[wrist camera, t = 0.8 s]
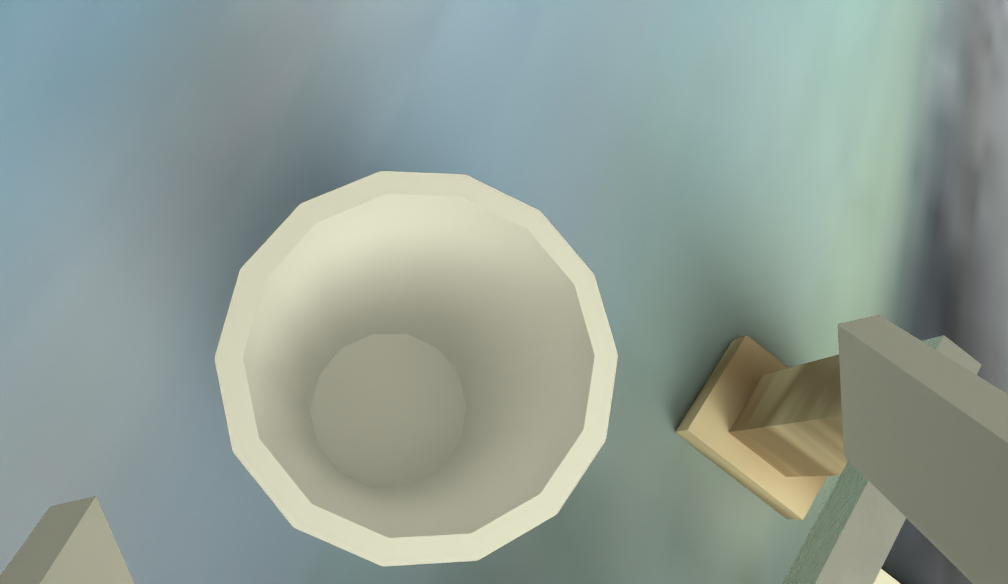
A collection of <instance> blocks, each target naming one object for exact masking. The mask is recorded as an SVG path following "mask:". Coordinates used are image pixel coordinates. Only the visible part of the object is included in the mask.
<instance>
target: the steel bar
mask: <svg viewBox="0 0 1008 584" xmlns="http://www.w3.org/2000/svg"><path fill="white" fill-rule="evenodd" d="M922 342H924V343H925V344H927V345H928V346H930V347H932V348H933V349H935V350H936V351H938V352H940V353H941V354H943V355H945V356H946V357H948V358H949V359H951V360H953V361H954V362H956V363H958V364H959V365H961V366H962V367H964V368H966V369H967V370H969V371H970V372H972V373H974V374H975V375H977V373H978V371H979V369H980V367H981V364H980V363H979V362H977V361H976V360H975V359H973V358H972V357H971V356H970V355H968V354H967V353H966V352H965V351H963V350H962V349H961V348H959V347H958V346H957V345H956V344H954V343H953V342H952V341H951V340H949V339H948V338H947V337H946V336H940V337H936V338H932V339H928V340H924V341H922ZM905 519H906V517H905V516H904V515H903V514H902V513H901V512H900V511H899V510H898V509H897V508H896V507H895V506H894V505H893V504H892V503H891V502H890V501H889V500H888V499H887V498H886V497H885V496H884V495H883V494H882V493H881V492H880V491H879V490H878V489H876V488H875V487H874V486H873V485H872V484H871V483H870V482H869V481H868V480H867V479H866V478H865V477H864V476H863V475H862V474H861V473H860V472H859V471H858V470H857V469H856V468H855V467H854V466H853V465H852V464H851V463H850V462H849V461H848V462H847V464H846V466H845V468H844V469H843V471H842V473H841V475H840V477H839V479H838V481H837V482H836V484H835V486H834V488H833V490H832V492H831V494H830V496H829V497H828V499H827V501H826V503H825V505H824V507H823V509H822V510H821V512H820V514H819V516H818V518H817V520H816V522H815V524H814V525H813V527H812V529H811V531H810V533H809V535H808V537H807V538H806V540H805V542H804V544H803V546H802V548H801V550H800V552H799V553H798V555H797V557H796V559H795V561H794V563H793V565H792V566H791V568H790V570H789V572H788V574H787V576H786V578H785V580H784V581H783V583H782V584H874V582H875V580H876V578H877V576H878V574H879V572H880V570H881V568H882V566H883V564H884V562H885V559H886V557H887V555H888V553H889V551H890V549H891V547H892V545H893V543H894V541H895V539H896V537H897V535H898V533H899V531H900V529H901V527H902V525H903V523H904V521H905Z"/></svg>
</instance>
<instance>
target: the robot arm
mask: <svg viewBox="0 0 1008 584" xmlns="http://www.w3.org/2000/svg"><path fill="white" fill-rule="evenodd" d="M838 342H839V363H840V384H841V405H842V427H843V448H844V457H845V458H846V459H847V460H848V461H849V462H850V463H851V464H852V465H853V466H854V467H855V468H856V469H857V470H858V471H859V472H860V473H861V474H862V475H863V476H864V477H865V478H866V479H867V480H868V481H869V482H870V483H871V484H872V485H873V486H874V487H875V488H876V489H878V490H879V491H880V492H881V493H882V494H883V495H884V496H885V497H886V498H887V499H888V500H889V501H890V502H891V503H892V504H893V505H894V506H895V507H896V508H897V509H898V510H899V511H900V512H901V513H902V514H903V515H904V516H905V517H906V518H907V519H908V520H909V521H910V522H911V523H912V524H913V525H914V526H915V527H916V528H917V529H918V530H919V531H920V532H921V533H922V534H923V535H924V536H925V537H926V538H927V539H928V540H929V541H930V542H931V543H932V544H933V545H934V546H935V547H936V548H937V549H938V550H939V551H940V552H941V553H942V554H944V555H945V556H946V557H947V558H948V559H949V560H950V561H951V562H952V563H953V564H954V565H955V566H956V567H957V568H958V569H959V570H960V571H961V572H962V573H963V574H964V575H965V576H966V577H967V578H968V579H969V580H970V581H971V582H972V583H973V584H1008V394H1006V393H1004V392H1003V391H1001V390H1000V389H998V388H996V387H995V386H993V385H992V384H990V383H988V382H987V381H985V380H983V379H982V378H980V377H979V376H977V375H975V374H974V373H972V372H970V371H969V370H967V369H966V368H964V367H962V366H961V365H959V364H958V363H956V362H954V361H953V360H951V359H949V358H948V357H946V356H945V355H943V354H941V353H940V352H938V351H936V350H935V349H933V348H932V347H930V346H928V345H927V344H925V343H924V342H922V341H920V340H919V339H917V338H915V337H914V336H912V335H911V334H909V333H907V332H906V331H904V330H902V329H901V328H899V327H898V326H896V325H894V324H893V323H891V322H890V321H888V320H886V319H885V318H883V317H881V316H880V315H876V316H871V317H867V318H863V319H859V320H854V321H850V322H846V323H841V324H838ZM0 584H134V582H133V579H132V577H131V575H130V573H129V570H128V568H127V566H126V563H125V561H124V559H123V557H122V554H121V552H120V550H119V548H118V545H117V543H116V541H115V538H114V536H113V534H112V532H111V529H110V527H109V525H108V522H107V520H106V518H105V516H104V513H103V511H102V509H101V507H100V504H99V502H98V500H97V497H96V496H94V497H90V498H86V499H81V500H77V501H73V502H68V503H64V504H60V505H55V506H51V507H50V508H49V509H48V511H47V512H46V513H45V515H44V516H43V517H42V519H41V520H40V522H39V523H38V524H37V526H36V527H35V529H34V530H33V531H32V533H31V534H30V536H29V537H28V538H27V540H26V541H25V543H24V544H23V545H22V547H21V548H20V550H19V551H18V552H17V554H16V555H15V556H14V558H13V559H12V561H11V562H10V563H9V565H8V566H7V568H6V569H5V570H4V572H3V573H2V575H1V576H0Z"/></svg>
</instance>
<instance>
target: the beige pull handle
mask: <svg viewBox="0 0 1008 584" xmlns="http://www.w3.org/2000/svg"><path fill="white" fill-rule="evenodd" d="M675 432H676V433H677V434H678V435H680V436H681V437H682V438H684V439H685V440H686V441H687V442H689V443H690V444H691V445H693V446H694V447H695V448H696V449H698V450H699V451H700V452H702V453H703V454H704V455H705V456H707V457H708V458H709V459H711V460H712V461H713V462H715V463H716V464H717V465H718V466H720V467H721V468H722V469H724V470H725V471H726V472H727V473H729V474H730V475H731V476H733V477H734V478H735V479H736V480H738V481H739V482H740V483H742V484H743V485H744V486H745V487H747V488H748V489H749V490H751V491H752V492H753V493H754V494H756V495H757V496H758V497H760V498H761V499H762V500H763V501H765V502H766V503H767V504H769V505H770V506H771V507H772V508H774V509H775V510H776V511H778V512H779V513H780V514H781V515H783V516H784V517H785V518H787V519H798V520H803V519H804V517H805V515H806V514H807V512H808V510H809V508H810V506H811V504H812V503H813V501H814V499H815V497H816V495H817V493H818V491H819V490H820V488H821V486H822V484H823V482H824V480H825V479H826V477H827V476H835V475H841V473H842V471H843V469H844V468H845V466H846V464H847V462H848V460H847V459H846V458H845V457H844V448H843V427H842V405H841V384H840V363H839V355H835V356H832V357H828V358H824V359H820V360H817V361H813V362H809V363H806V364H802V365H798V366H794V367H791V368H788V367H787V366H786V365H784V364H783V363H782V362H781V361H779V360H778V359H777V358H776V357H774V356H773V355H772V354H770V353H769V352H768V351H767V350H765V349H764V348H763V347H761V346H760V345H759V344H758V343H756V342H755V341H754V340H752V339H751V338H750V337H749V336H747V335H745V336H742V337H740V338H737V339H734V340H733V341H732V342H731V344H730V345H729V347H728V349H727V350H726V352H725V353H724V355H723V357H722V358H721V360H720V361H719V363H718V365H717V366H716V368H715V369H714V371H713V372H712V374H711V376H710V377H709V379H708V380H707V382H706V384H705V385H704V387H703V388H702V390H701V392H700V393H699V395H698V396H697V398H696V400H695V401H694V403H693V404H692V406H691V407H690V409H689V411H688V412H687V414H686V415H685V417H684V419H683V420H682V422H681V423H680V425H679V427H678V428H677V430H676V431H675Z"/></svg>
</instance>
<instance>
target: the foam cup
mask: <svg viewBox="0 0 1008 584" xmlns="http://www.w3.org/2000/svg"><path fill="white" fill-rule="evenodd" d="M214 359H215V364H216V369H217V374H218V379H219V384H220V389H221V395H222V400H223V405H224V410H225V415H226V420H227V425H228V430H229V435H230V440H231V445H232V450H233V453H234V454H235V455H236V456H237V458H238V459H239V460H240V461H241V463H242V464H243V465H244V466H245V468H246V469H247V470H248V471H249V473H250V474H251V475H252V476H253V478H254V479H255V480H256V481H257V483H258V484H259V485H260V486H261V487H262V489H263V490H264V491H265V492H266V494H267V495H268V496H269V497H270V499H271V500H272V501H273V502H274V504H275V505H276V506H277V507H278V509H279V510H280V511H281V512H282V514H283V515H284V516H285V517H286V519H287V520H288V521H289V522H290V524H291V525H292V526H293V527H294V528H296V529H298V530H300V531H303V532H305V533H307V534H310V535H312V536H314V537H316V538H319V539H321V540H323V541H326V542H328V543H330V544H332V545H335V546H337V547H339V548H342V549H344V550H346V551H348V552H351V553H353V554H355V555H357V556H360V557H362V558H364V559H367V560H369V561H371V562H373V563H376V564H378V565H380V566H399V565H415V564H431V563H447V562H463V561H478V560H480V559H481V558H483V557H485V556H486V555H488V554H490V553H492V552H493V551H495V550H497V549H498V548H500V547H502V546H503V545H505V544H507V543H509V542H510V541H512V540H514V539H515V538H517V537H519V536H521V535H522V534H524V533H526V532H527V531H529V530H531V529H532V528H534V527H536V526H538V525H539V524H541V523H543V522H544V521H546V520H548V519H550V518H551V517H553V516H555V515H556V514H557V513H558V512H559V510H560V509H561V507H562V506H563V504H564V503H565V501H566V500H567V498H568V497H569V495H570V494H571V492H572V491H573V489H574V488H575V486H576V485H577V483H578V482H579V480H580V479H581V477H582V476H583V474H584V473H585V471H586V470H587V468H588V467H589V465H590V464H591V462H592V461H593V459H594V458H595V456H596V454H597V453H598V451H599V450H600V448H601V447H602V445H603V444H604V442H605V441H606V436H607V429H608V422H609V415H610V408H611V401H612V394H613V387H614V380H615V373H616V366H617V359H618V353H617V350H616V347H615V343H614V340H613V336H612V333H611V330H610V326H609V323H608V319H607V316H606V313H605V309H604V306H603V302H602V299H601V296H600V292H599V289H598V285H597V282H596V279H595V275H594V274H593V273H592V271H591V270H590V269H589V268H588V267H587V266H586V264H585V263H584V262H583V261H582V260H581V258H580V257H579V256H578V255H577V254H576V253H575V251H574V250H573V249H572V248H571V247H570V245H569V244H568V243H567V242H566V241H565V240H564V238H563V237H562V236H561V235H560V234H559V232H558V231H557V230H556V229H555V228H554V227H553V225H552V224H551V223H550V222H549V221H548V219H547V218H546V217H545V216H544V215H543V214H542V212H541V211H539V210H537V209H535V208H533V207H531V206H529V205H527V204H525V203H523V202H521V201H519V200H516V199H514V198H512V197H510V196H508V195H506V194H504V193H502V192H500V191H498V190H496V189H494V188H492V187H490V186H488V185H486V184H484V183H482V182H480V181H478V180H476V179H474V178H472V177H470V176H468V175H465V174H442V173H418V172H394V171H380V172H377V173H375V174H372V175H370V176H367V177H365V178H362V179H360V180H357V181H355V182H352V183H350V184H347V185H345V186H342V187H340V188H337V189H335V190H333V191H330V192H328V193H325V194H323V195H320V196H318V197H315V198H313V199H310V200H308V201H305V202H303V203H300V205H299V206H298V207H297V208H296V209H295V210H294V211H293V212H292V213H291V214H290V215H289V217H288V218H287V219H286V220H285V221H284V222H283V223H282V224H281V225H280V226H279V227H278V228H277V230H276V231H275V232H274V233H273V234H272V235H271V236H270V237H269V238H268V239H267V240H266V242H265V243H264V244H263V245H262V246H261V247H260V248H259V249H258V250H257V251H256V252H255V254H254V255H253V256H252V257H251V258H250V259H249V260H248V261H247V262H246V263H245V264H244V265H243V267H242V268H241V269H240V271H239V274H238V278H237V281H236V285H235V288H234V292H233V295H232V299H231V302H230V306H229V309H228V313H227V316H226V319H225V323H224V326H223V330H222V333H221V337H220V340H219V344H218V347H217V351H216V354H215V358H214Z"/></svg>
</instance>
